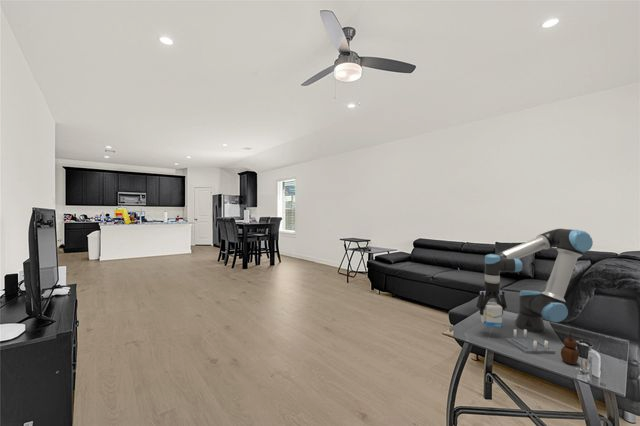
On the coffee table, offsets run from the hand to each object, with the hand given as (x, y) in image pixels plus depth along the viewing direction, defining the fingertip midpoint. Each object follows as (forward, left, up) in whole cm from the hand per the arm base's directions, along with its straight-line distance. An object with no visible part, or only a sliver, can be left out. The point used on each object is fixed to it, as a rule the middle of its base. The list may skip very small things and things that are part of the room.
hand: (491, 320), depth 164 cm
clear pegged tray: (-12, +13, -9) cm, 20 cm away
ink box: (0, 0, -2) cm, 2 cm away
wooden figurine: (-19, +29, -9) cm, 36 cm away
